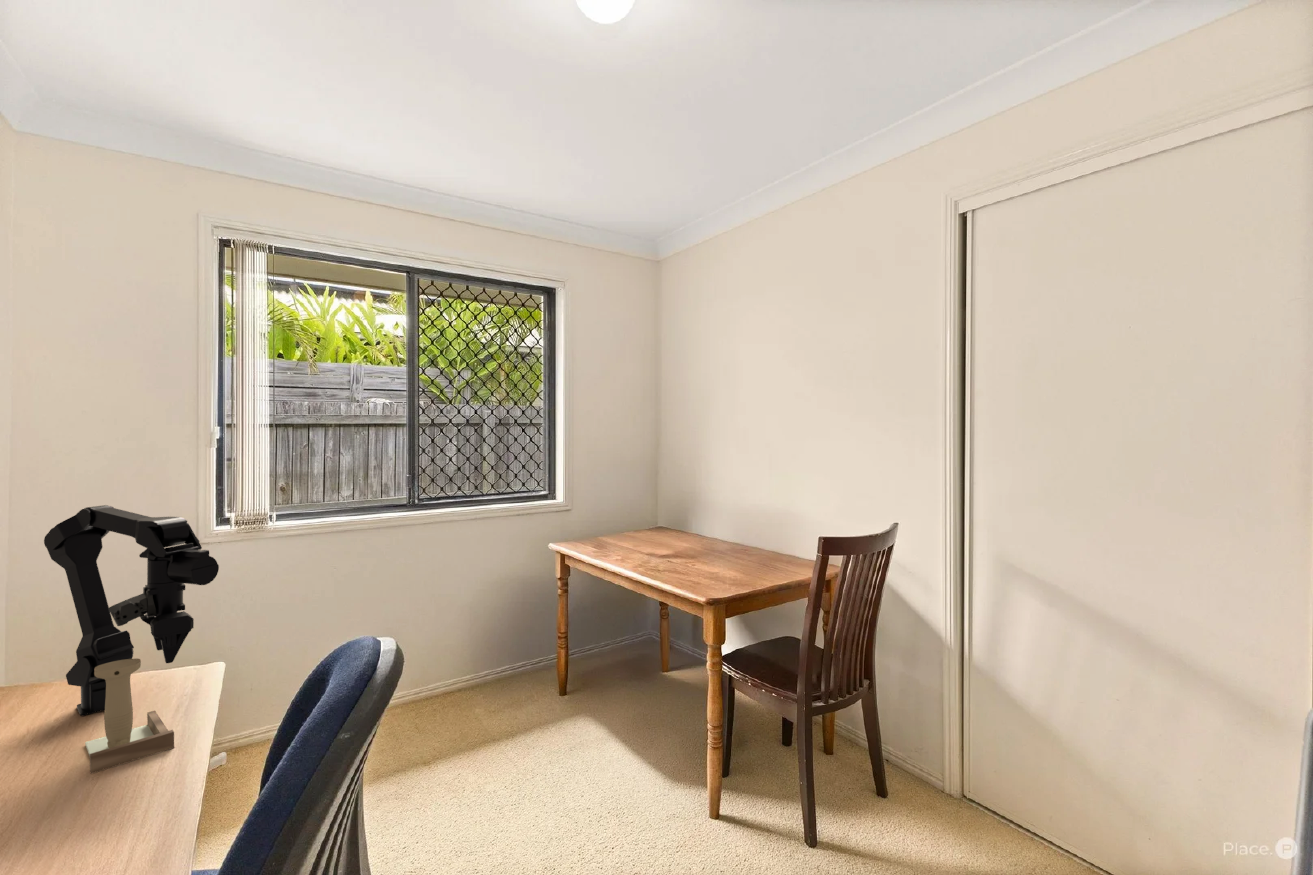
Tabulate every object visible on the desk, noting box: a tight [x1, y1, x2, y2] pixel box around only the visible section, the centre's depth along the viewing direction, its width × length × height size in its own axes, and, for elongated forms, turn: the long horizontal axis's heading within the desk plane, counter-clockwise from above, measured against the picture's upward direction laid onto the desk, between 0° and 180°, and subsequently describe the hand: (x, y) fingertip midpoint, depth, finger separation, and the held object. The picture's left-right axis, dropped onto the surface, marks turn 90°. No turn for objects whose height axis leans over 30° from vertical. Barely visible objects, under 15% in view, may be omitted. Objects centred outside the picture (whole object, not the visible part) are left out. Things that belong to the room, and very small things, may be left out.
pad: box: [84, 724, 153, 757], centre depth 114 cm, size 12×9×1 cm
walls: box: [89, 710, 175, 775], centre depth 114 cm, size 13×11×3 cm
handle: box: [94, 658, 142, 748], centre depth 113 cm, size 5×6×15 cm
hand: (164, 656), depth 125 cm, fingers open, 9 cm apart
